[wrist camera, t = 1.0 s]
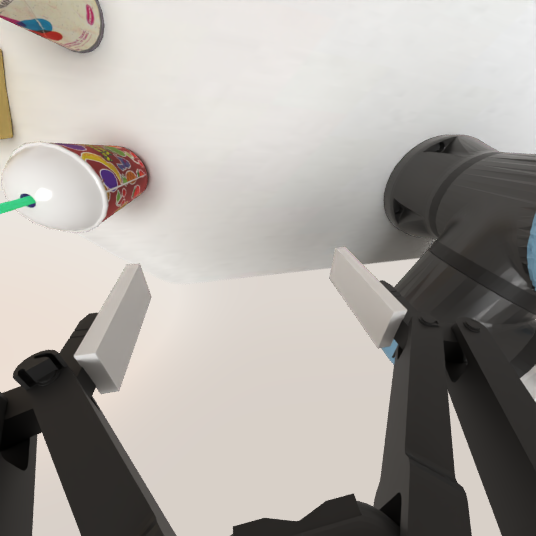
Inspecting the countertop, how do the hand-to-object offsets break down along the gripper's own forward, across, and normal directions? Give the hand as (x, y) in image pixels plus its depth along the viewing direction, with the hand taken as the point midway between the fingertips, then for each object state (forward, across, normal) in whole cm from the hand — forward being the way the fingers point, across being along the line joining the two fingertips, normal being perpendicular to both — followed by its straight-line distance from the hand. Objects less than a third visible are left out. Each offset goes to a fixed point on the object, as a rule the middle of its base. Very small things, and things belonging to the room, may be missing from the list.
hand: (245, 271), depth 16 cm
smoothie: (+26, +14, -2) cm, 30 cm away
